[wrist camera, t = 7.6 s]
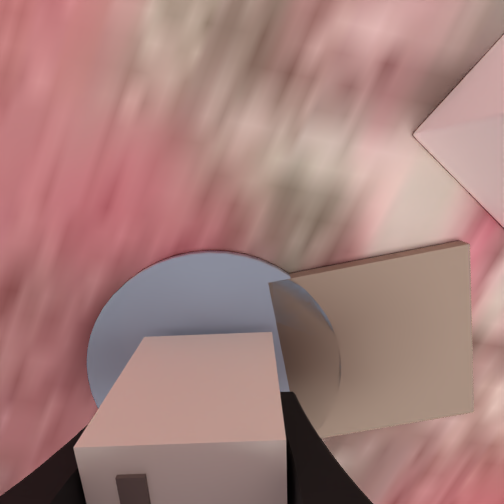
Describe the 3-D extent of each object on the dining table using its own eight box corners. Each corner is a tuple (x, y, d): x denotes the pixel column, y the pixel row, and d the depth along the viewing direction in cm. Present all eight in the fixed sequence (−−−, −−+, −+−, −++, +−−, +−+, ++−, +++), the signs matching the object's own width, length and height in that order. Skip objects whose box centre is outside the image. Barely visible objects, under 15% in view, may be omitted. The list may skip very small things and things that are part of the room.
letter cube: (159, 440, 13) (105, 598, 8) (144, 336, 12) (70, 451, 7) (274, 436, 13) (289, 591, 8) (272, 331, 12) (286, 443, 7)
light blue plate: (111, 467, 15) (106, 478, 15) (74, 253, 13) (66, 257, 12) (332, 461, 15) (335, 472, 15) (343, 246, 13) (348, 250, 12)
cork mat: (297, 431, 15) (300, 442, 14) (267, 277, 13) (267, 282, 12) (465, 402, 15) (473, 412, 14) (459, 240, 13) (469, 243, 12)
